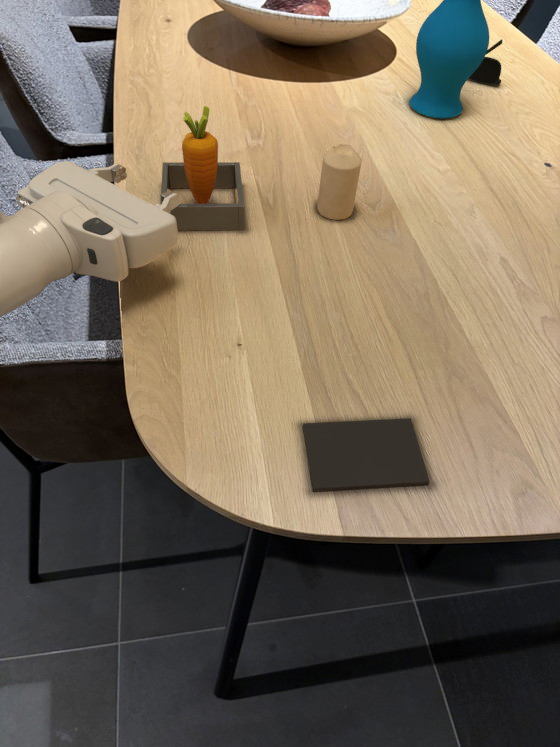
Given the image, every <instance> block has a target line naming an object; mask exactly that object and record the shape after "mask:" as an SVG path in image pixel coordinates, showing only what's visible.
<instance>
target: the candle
mask: <svg viewBox="0 0 560 747" xmlns="http://www.w3.org/2000/svg"><path fill="white" fill-rule="evenodd" d="M362 162H363V160H362V157H361V156H360V155H359V153H358V152H357V151H356V150H355V149H354V147H353V146H352V145H351V144H346V143H345V144H344V143H339V144H337V145H336V146H332V147H331V148H330V149H328V150H327V151H325V153H323V156H322V162H321V163H322V164H321V172H320V180H319V188H318V196H317V204H316V206H317V207H316V208H317V212H318V213H319V215H321V216H322V217H323V218H326V219H329V220H334V221H342V220H345V219H348V218H350V217H351V215H352V214H353V212H354V208H355V203H356V202H355V201H356V197H357V191H358V184H359V178H360V173H361V168H362Z"/></svg>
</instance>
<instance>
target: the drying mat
mask: <svg viewBox="0 0 560 747" xmlns="http://www.w3.org/2000/svg"><path fill="white" fill-rule="evenodd" d="M413 424H414V423H413V421H412V418H411V417H408V418H388V419H369V420H368V419H367V420H366V419H365V420H345V421H343V420H342V421H327V422H326V421H325V422H306V423H305V422H304V423H302V431H303V439H304V443H305V451H306V456H307V458H306V459H307V464H308V465H307V466H308V471H309V478H310V483H311V484H310V485H311V491H312V492H328V491H329V492H330V491H346V490H360V489H364V490H365V489H379V488H394V487H395V488H396V487H411V486H413V487H414V486H426V485H427V486H428V485H429V484H430V478H429V475H428V471H427V468H426V464H425V460H424V458H423V454H422V450H421V449H420V448H421V447H420V444H419V441H418V438H417V434H416V430H415V427H414V425H413Z"/></svg>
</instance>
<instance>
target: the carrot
mask: <svg viewBox="0 0 560 747" xmlns="http://www.w3.org/2000/svg"><path fill="white" fill-rule="evenodd" d="M183 115H184V116H183V122H184V123H185V124H186V125H187V127H188V128H189V130H190V132H187V134H185V136H184V138H183V140H182V143H181V150H182V158H183V159H182V160H183V162H184V168H185V174H186V177H187V181H188V184H189V188H188V189H189V190H190V193H191V194H192V197H193V198H194V200H195V201H196V204H209V202H210V200H211V197H212V194H213V192H214V189H215V188H214V186H215V181H216V175H217V167H218V162H219V142H218V139H217V138H216V137H215V136H214V135H213V134H211V133H210V132H209V131H206V130H207V127H208V126H207V125H208V121H209V117H210V107H209V106H207V105H203V109H202V116H201V118H200V120H197V119H195V120H193V118H192V116H191V114H190V113H189V112H188V111H185V112H184V114H183Z"/></svg>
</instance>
